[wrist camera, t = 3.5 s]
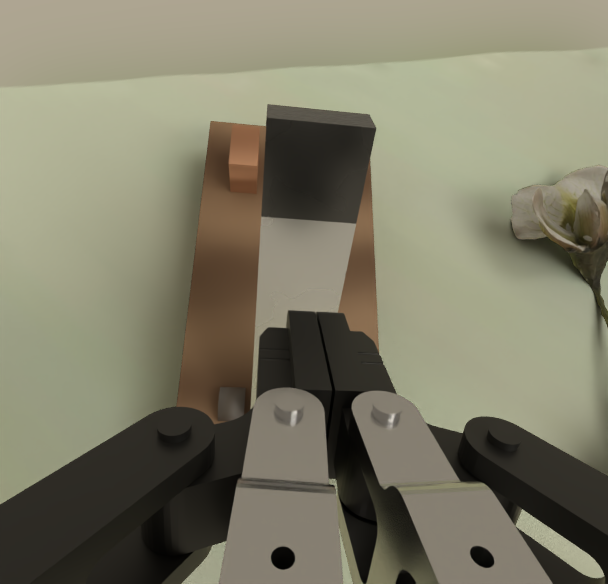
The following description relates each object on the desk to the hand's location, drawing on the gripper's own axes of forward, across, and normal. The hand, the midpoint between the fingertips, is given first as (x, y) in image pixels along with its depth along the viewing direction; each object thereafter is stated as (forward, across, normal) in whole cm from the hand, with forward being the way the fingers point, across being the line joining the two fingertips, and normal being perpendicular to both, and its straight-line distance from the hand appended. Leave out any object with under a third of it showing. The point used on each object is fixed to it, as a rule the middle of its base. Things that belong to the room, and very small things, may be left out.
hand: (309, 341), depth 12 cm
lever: (+5, 0, +1) cm, 5 cm away
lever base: (+15, 0, +6) cm, 16 cm away
